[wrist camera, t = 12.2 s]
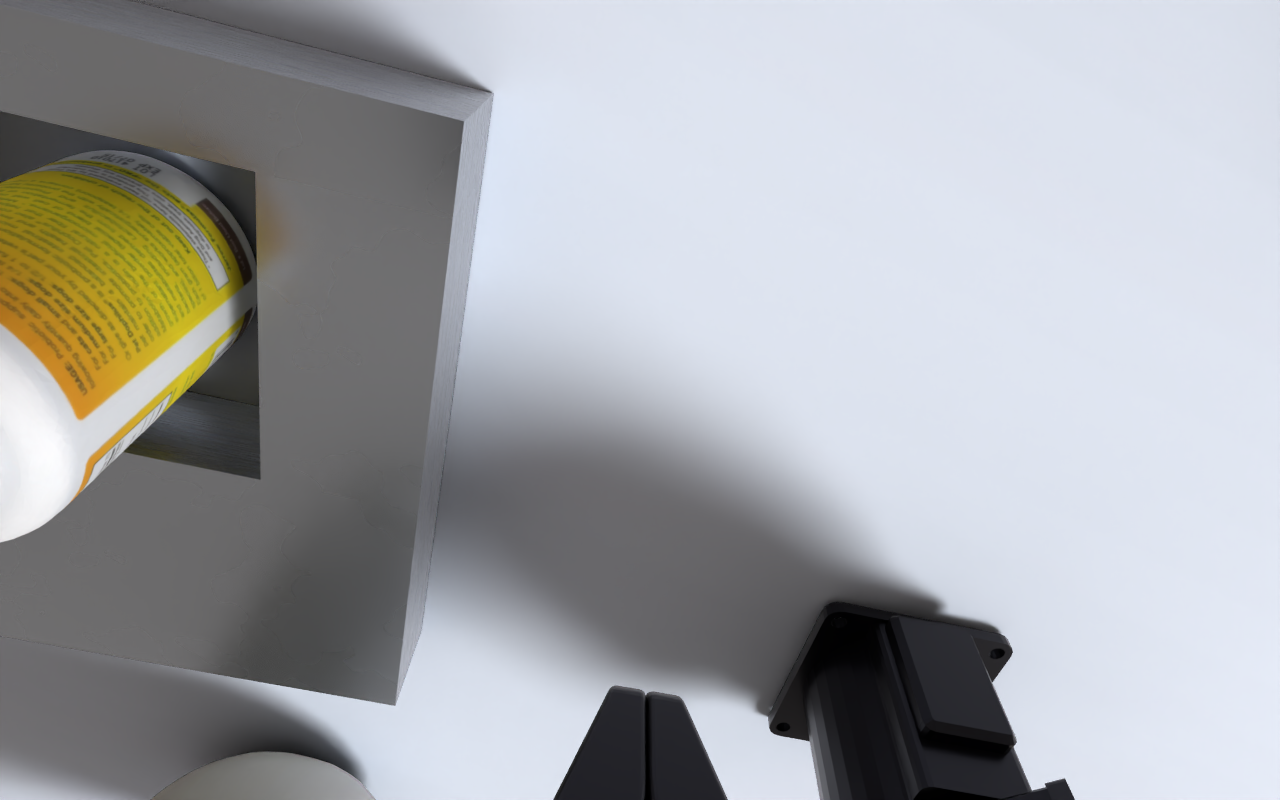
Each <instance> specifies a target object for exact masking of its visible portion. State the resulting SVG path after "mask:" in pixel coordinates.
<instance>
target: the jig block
mask: <svg viewBox="0 0 1280 800" xmlns="http://www.w3.org/2000/svg"><path fill="white" fill-rule="evenodd" d="M493 94H494V93H490V92H486V91H482V90H479V89H475V88H471V87H467V86H463V85H459V84H455V83H451V82H447V81H443V80H439V79H436V78H432V77H428V76H424V75H420V74H416V73H412V72H408V71H404V70H400V69H397V68H393V67H389V66H385V65H381V64H377V63H373V62H369V61H365V60H361V59H357V58H354V57H350V56H346V55H342V54H338V53H334V52H330V51H326V50H322V49H318V48H314V47H311V46H307V45H303V44H299V43H295V42H291V41H287V40H283V39H279V38H275V37H272V36H268V35H264V34H260V33H256V32H252V31H248V30H244V29H240V28H236V27H232V26H229V25H225V24H221V23H217V22H213V21H209V20H205V19H201V18H197V17H193V16H190V15H186V14H182V13H178V12H174V11H170V10H166V9H162V8H158V7H154V6H150V5H147V4H143V3H139V2H135V1H131V0H0V111H2V112H6V113H11V114H15V115H19V116H23V117H27V118H32V119H36V120H40V121H44V122H48V123H52V124H57V125H61V126H65V127H69V128H73V129H78V130H82V131H86V132H90V133H94V134H99V135H103V136H107V137H111V138H115V139H119V140H124V141H128V142H132V143H136V144H140V145H145V146H149V147H153V148H157V149H161V150H166V151H170V152H174V153H178V154H182V155H186V156H191V157H195V158H199V159H203V160H207V161H212V162H216V163H220V164H224V165H228V166H232V167H237V168H241V169H245V170H249V171H253V172H255V190H256V246H257V302H258V358H259V406H254V405H250V404H245V403H240V402H235V401H230V400H226V399H221V398H216V397H211V396H207V395H202V394H197V393H192V392H188V391H185V392H184V393H183V394H182V395H181V396H180V397H179V398H178V399H177V400H176V401H175V402H174V403H173V404H172V405H171V406H170V407H169V408H168V409H167V410H166V411H165V412H164V413H163V414H162V415H160V416H159V417H158V418H157V419H156V420H155V421H154V422H153V423H152V424H151V425H150V426H149V427H148V428H147V429H146V430H145V431H144V432H143V433H142V434H141V435H140V436H139V437H138V438H137V439H135V440H134V441H133V442H132V443H131V444H130V445H129V446H128V447H127V448H126V449H125V450H124V451H123V452H122V453H121V454H120V455H119V456H118V457H117V458H116V459H115V460H114V461H113V462H112V463H110V464H109V465H108V466H107V467H106V468H105V469H104V470H103V471H102V472H101V473H100V474H99V475H98V476H97V477H96V478H95V479H94V480H93V481H92V482H91V483H90V484H89V485H88V486H87V487H86V488H85V489H84V490H83V491H81V492H80V493H79V494H78V496H77V497H76V498H75V499H74V500H73V501H71V502H70V503H69V504H68V505H67V506H66V507H65V508H64V509H63V510H62V511H60V512H59V513H58V514H57V515H55V516H54V517H53V518H52V519H51V520H49V521H48V522H47V523H45V524H44V525H42V526H41V527H39V528H37V529H35V530H33V531H31V532H29V533H27V534H25V535H22V536H20V537H17V538H15V539H12V540H8V541H4V542H0V636H3V637H8V638H14V639H20V640H26V641H31V642H37V643H43V644H48V645H54V646H60V647H65V648H71V649H77V650H82V651H88V652H94V653H99V654H105V655H111V656H116V657H122V658H128V659H133V660H139V661H145V662H150V663H156V664H162V665H167V666H173V667H179V668H184V669H190V670H196V671H201V672H207V673H213V674H218V675H224V676H230V677H235V678H241V679H247V680H252V681H258V682H264V683H269V684H275V685H281V686H286V687H292V688H298V689H303V690H309V691H315V692H320V693H326V694H332V695H337V696H343V697H349V698H354V699H360V700H366V701H371V702H377V703H383V704H388V705H394V706H395V705H396V702H397V699H398V696H399V693H400V691H401V688H402V685H403V682H404V679H405V676H406V673H407V671H408V668H409V665H410V662H411V659H412V656H413V653H414V651H415V648H416V645H417V642H418V639H419V636H420V633H421V629H422V622H423V614H424V607H425V599H426V592H427V585H428V577H429V570H430V562H431V555H432V547H433V540H434V533H435V525H436V518H437V510H438V503H439V495H440V488H441V481H442V473H443V466H444V458H445V451H446V443H447V436H448V429H449V421H450V414H451V406H452V399H453V391H454V384H455V377H456V369H457V362H458V354H459V347H460V339H461V332H462V325H463V317H464V310H465V302H466V295H467V287H468V280H469V273H470V265H471V258H472V250H473V243H474V235H475V228H476V221H477V213H478V206H479V198H480V191H481V183H482V176H483V169H484V161H485V154H486V146H487V139H488V131H489V124H490V117H491V109H492V102H493Z"/></svg>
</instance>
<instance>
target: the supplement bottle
mask: <svg viewBox="0 0 1280 800" xmlns="http://www.w3.org/2000/svg"><path fill="white" fill-rule="evenodd" d="M256 305H257V267H256V262H255V259H254V255H253V252H252V250H251V247H250V244H249V242H248V240H247V238H246V236H245V234H244V232H243V231H242V229H241V227H240V226H239V224H238V222H237V221H236V220H235V218H234V217H233V216H232V214H231V213H230V212H229V210H228V209H227V208H226V207H225V206H224V205H223V203H222V202H221V201H220V200H219V199H218V198H217V197H216V196H215V195H214V194H212V193H211V192H210V191H209V190H208V189H207V188H206V187H204V186H203V185H202V184H201V183H199V182H198V181H197V180H195V179H193V178H192V177H190V176H189V175H187V174H186V173H184V172H182V171H181V170H179V169H177V168H175V167H173V166H171V165H169V164H167V163H164V162H162V161H160V160H157V159H154V158H151V157H148V156H144V155H141V154H137V153H131V152H126V151H115V150H99V151H90V152H84V153H80V154H76V155H72V156H69V157H65V158H62V159H59V160H57V161H54V162H52V163H50V164H47V165H45V166H42V167H39V168H37V169H34V170H32V171H29V172H27V173H24V174H22V175H19V176H16V177H14V178H11V179H8V180H6V181H3V182H1V183H0V542H4V541H8V540H12V539H15V538H17V537H20V536H22V535H25V534H27V533H29V532H31V531H33V530H35V529H37V528H39V527H41V526H42V525H44V524H45V523H47V522H48V521H49V520H51V519H52V518H53V517H54V516H55V515H57V514H58V513H59V512H60V511H62V510H63V509H64V508H65V507H66V506H67V505H68V504H69V503H70V502H71V501H73V500H74V499H75V498H76V497H77V496H78V494H79V493H80V492H81V491H83V490H84V489H85V488H86V487H87V486H88V485H89V484H90V483H91V482H92V481H93V480H94V479H95V478H96V477H97V476H98V475H99V474H100V473H101V472H102V471H103V470H104V469H105V468H106V467H107V466H108V465H109V464H110V463H112V462H113V461H114V460H115V459H116V458H117V457H118V456H119V455H120V454H121V453H122V452H123V451H124V450H125V449H126V448H127V447H128V446H129V445H130V444H131V443H132V442H133V441H134V440H135V439H137V438H138V437H139V436H140V435H141V434H142V433H143V432H144V431H145V430H146V429H147V428H148V427H149V426H150V425H151V424H152V423H153V422H154V421H155V420H156V419H157V418H158V417H159V416H160V415H162V414H163V413H164V412H165V411H166V410H167V409H168V408H169V407H170V406H171V405H172V404H173V403H174V402H175V401H176V400H177V399H178V398H179V397H180V396H181V395H182V394H183V393H184V392H185V391H186V390H187V389H188V388H189V387H190V386H192V385H193V384H194V383H195V382H196V381H197V380H198V379H199V378H200V377H201V376H202V375H203V374H204V373H205V372H206V371H207V370H208V369H209V368H210V367H211V366H212V365H213V364H214V363H215V362H216V361H217V360H218V359H219V358H220V357H221V356H222V355H223V354H224V353H225V352H226V351H227V350H228V349H229V348H230V347H231V346H232V345H233V344H234V343H235V342H236V341H237V340H238V339H239V338H240V337H241V335H242V334H243V333H244V331H245V330H246V328H247V327H248V325H249V324H250V322H251V319H252V317H253V315H254V312H255V308H256Z"/></svg>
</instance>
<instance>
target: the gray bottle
mask: <svg viewBox="0 0 1280 800" xmlns="http://www.w3.org/2000/svg"><path fill="white" fill-rule="evenodd" d="M151 800H376V799H375V798H374V797H373V796H372V795H371V793H370V792H369V791H368V790H367V789H366V788H365V786H364V785H363V784H362V783H361V782H360V781H359V780H358V779H356V778H355V777H353V776H352V775H351V774H349V773H348V772H346V771H344V770H342V769H340V768H339V767H337V766H335V765H333V764H331V763H328V762H325V761H322V760H318V759H315V758H311V757H307V756H303V755H299V754H294V753H288V752H268V751H265V752H252V753H246V754H241V755H237V756H232V757H228V758H225V759H221V760H218V761H215V762H212V763H209V764H207V765H205V766H203V767H200V768H198V769H196V770H194V771H192V772H190V773H188V774H187V775H185V776H183V777H181V778H180V779H178V780H176V781H175V782H173V783H172V784H170V785H169V786H167V787H166V788H165V789H163V790H162V791H161V792H159V793H158V794H157V795H156V796H155V797H153V798H152V799H151Z"/></svg>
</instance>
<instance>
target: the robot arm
mask: <svg viewBox="0 0 1280 800" xmlns="http://www.w3.org/2000/svg"><path fill="white" fill-rule="evenodd" d="M837 617H841V618H839V619H834V618H837ZM1012 653H1013V651H1012V648H1011V645H1010V643H1009V641H1008V639H1007V638H1006V637H1005V636H1003V635H1001V634H997V633H992V632H987V631H982V630H977V629H972V628H967V627H962V626H957V625H952V624H947V623H942V622H937V621H932V620H927V619H922V618H917V617H912V616H907V615H902V614H897V613H892V612H887V611H882V610H877V609H872V608H867V607H862V606H857V605H852V604H847V603H841V602H836V603H831V604H829V605H827V606H826V607H825V608H824V609H823V610H822V612H821V614H820V616H819V618H818V620H817V622H816V624H815V626H814V628H813V630H812V632H811V634H810V635H809V637H808V639H807V641H806V643H805V645H804V647H803V649H802V651H801V653H800V655H799V657H798V659H797V661H796V663H795V665H794V667H793V669H792V671H791V673H790V675H789V677H788V678H787V680H786V682H785V684H784V686H783V688H782V690H781V692H780V694H779V696H778V698H777V700H776V702H775V704H774V706H773V708H772V710H771V712H770V714H769V717H768V721H769V728H770V731H771V732H772V733H774V734H776V735H779V736H784V737H790V738H795V739H801V740H806V741H810V745H811V751H812V756H813V762H814V768H815V773H816V779H817V785H818V790H819V796H820V800H1075V799H1074V797H1073V795H1072V793H1071V790H1070V788H1069V786H1068V784H1067V782H1066V780H1065V778H1064V779H1060V780H1056V781H1052V782H1049V783H1045V785H1046V787H1045V788H1041V789H1037V790H1033V791H1032V790H1031V787H1030V785H1029V783H1028V780H1027V778H1026V776H1025V773H1024V771H1023V768H1022V766H1021V764H1020V761H1019V759H1018V757H1017V754H1016V752H1015V750H1014V745H1015V744H1016V743H1017V741H1016V737H1015V734H1014V732H1013V730H1012V727H1011V725H1010V723H1009V721H1008V718H1007V716H1006V714H1005V711H1004V709H1003V707H1002V704H1001V702H1000V700H999V697H998V695H997V693H996V690H995V688H994V686H993V684H992V682H993V681H994V679H995V678H996V677H997V675H998V674H999V672H1000V671H1001V670H1002V668H1003V667H1004V665H1005V664H1006V663H1007V661H1008V660H1009V659H1010V657H1011V655H1012ZM553 800H728V799H727V797H726V795H725V793H724V790H723V788H722V786H721V784H720V781H719V779H718V777H717V775H716V772H715V770H714V768H713V766H712V763H711V761H710V759H709V757H708V754H707V752H706V750H705V748H704V745H703V743H702V741H701V739H700V737H699V734H698V732H697V730H696V728H695V725H694V723H693V721H692V719H691V716H690V714H689V712H688V710H687V707H686V705H685V703H684V701H683V700H682V699H681V698H680V697H679V696H676V695H671V694H665V693H659V692H649V693H647V694H646V696H645V693H644V692H643V691H642V690H640V689H634V688H628V687H622V686H613V687H611V688H610V689H609V691H608V693H607V695H606V697H605V699H604V701H603V703H602V705H601V707H600V709H599V711H598V713H597V715H596V717H595V719H594V721H593V722H592V724H591V726H590V728H589V730H588V732H587V734H586V736H585V738H584V740H583V742H582V744H581V746H580V748H579V750H578V752H577V754H576V756H575V758H574V760H573V762H572V764H571V766H570V768H569V770H568V772H567V774H566V776H565V778H564V780H563V782H562V784H561V786H560V788H559V790H558V792H557V794H556V795H555V797H554V799H553Z"/></svg>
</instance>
